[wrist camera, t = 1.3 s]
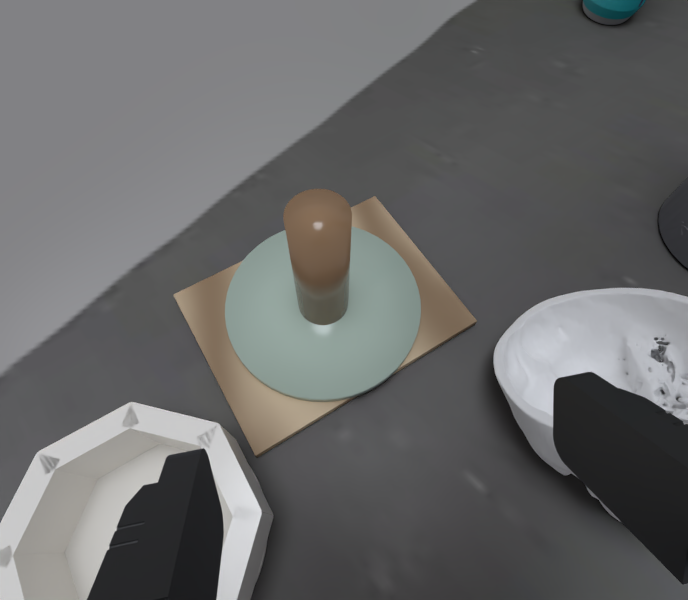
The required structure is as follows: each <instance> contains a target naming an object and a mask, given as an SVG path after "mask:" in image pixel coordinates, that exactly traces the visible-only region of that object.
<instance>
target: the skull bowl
mask: <svg viewBox="0 0 688 600" xmlns="http://www.w3.org/2000/svg"><path fill="white" fill-rule="evenodd" d="M667 344H668V345H667ZM658 348H660V349H661V350H662V352H660V351H659V350H658ZM660 358H661V359H660ZM659 360H660V361H661V360H664V363H663V362H662V363H659ZM662 364H663V366H662ZM493 365H494V371H495V375H496V378H497V380H498V383H499V385H500V387H501V389H502V391H503V393H504V395H505V397H506V399H507V401H508V403H509V405H510V407H511V410H512V413H513V416H514V418H515V420H516V422H517V423H518V425H519V427H520V428H521V430H522V431H523V433H524V434H525V436H526V438H527V440H528V442H529V443H530V445H531V447H532V448H533V449H534V451H535V452H536V453H537V454H538V455H539V457H540V458H541V459H542V460H544V461H545V462H546V463H547V464H549V465H550V466H551V467H552V468H554V469H555V470H557V471H558V472H559V473H561V474H563V475H569V474H573V475H575V474H574V473H573V472H572V471H571V470H570V469H569V468H568V467H567V466H566V465H565V464H564V463H563V461H562V460H561V458H560V457H559V455H558V453H557V451H556V448H555V445H554V441H553V391H554V383H555V381H556V380H557V379H558V378H560V377H565V376H570V375H575V374H580V373H585V372H593V373H595V374H597V375H598V376H600V377H601V378H603V379H604V380H606V381H608V382H609V383H611V384H612V385H614V386H615V387H617V388H620V389H623V390H626V391H629V392H632V393H634V394H637V395H640V396H643V397H645V398H647V399H648V400H650V401H652V402H653V403H655V404H656V405H658V406H660V407H661V408H663V409H664V410H666V413H671V414H672V415H674V416H675V417H677V418H679V419H680V420H682V421H683V423H684V425H685V424H688V297H686V296H682V295H679V294H675V293H671V292H666V291H661V290H653V289H644V288H607V289H595V290H588V291H579V292H574V293H569V294H565V295H560V296H557V297H554V298H551V299H547V300H545V301H543V302H541V303H539V304H537V305H535V306H534V307H532V308H530V309H529V310H527V311H526V312H525V313H524V314H522V315H521V316H520V317H519V318H518V319H517V320H516V321H515V322H514V323H513V324H512V325H511V326H510V327H509V328H508V329H507V330H506V332H505V333H504V334H503V336H502V337H501V338H500V339H499V342H498V343H497V345H496V348H495V350H494V356H493ZM575 476H576V475H575ZM576 477H577V476H576ZM577 478H578V477H577ZM586 488H587V490H588V492H589V493H590V495H591V496H593V497H594V498H596V499H598V497H597V496H596V495H595V494H594V493H593V492H592V491H591V490H590V489H589V488H588V487H587V486H586ZM598 500H599V499H598ZM599 501H600V500H599ZM600 503H601V505H602V506H603V507H604V508H605V510H606V511H607V512H608V513H609V514H610V515H611V516H613V517H614V518H616V519H617V520H618V521H620V520H619V519H618V518H617V517H616V516H615V515H614V514H613V513H612V512H611V511H610V510H609V509H608V508H607V507H606V506H605V505H604V504H603V503H602V502H601V501H600ZM620 522H621V521H620Z"/></svg>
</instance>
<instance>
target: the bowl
mask: <svg viewBox="0 0 688 600" xmlns="http://www.w3.org/2000/svg"><path fill="white" fill-rule="evenodd" d="M202 448H204V449H205V450H206V452H207V454H208V457H209V461H210V465H211V469H212V473H213V477H214V481H215V484H216V488H217V492H218V496H219V500H220V504H221V508H222V514H223V525H224V537H223V547H222V555H221V564H220V573H219V581H218V590H217V598H216V600H251V597H252V593H253V589H254V586H255V584H256V582H257V580H258V577H259V574H260V572H261V569H262V566H263V562H264V558H265V553H266V548H267V539H268V535H269V532H270V528H271V524H272V521H273V517H274V516H273V513H272V511H271V509H270V507H269V505H268V503H267V500H266V498H265V496H264V494H263V491H262V488H261V486H260V484H259V481H258V479H257V477H256V475H255V474H254V472H253V470H252V469H251V467H250V466H249V464H248V462H247V460H246V458H245V456H244V454H243V452H242V450H241V448H240V446H239V444H238V442H237V440H236V439H235V438H234V437H233V436H232V435H230V434H229V433H228V432H227V431H226V430H225V429H224V428H223V427H222V426H221V425H220V424H219V423H215V422H211V421H207V420H203V419H199V418H195V417H191V416H187V415H183V414H179V413H175V412H171V411H167V410H163V409H159V408H155V407H151V406H147V405H143V404H139V403H135V402H130V403H128V404H126V405H124V406H122V407H120V408H118V409H117V410H115V411H113V412H111V413H109V414H107V415H105V416H104V417H102V418H100V419H98V420H96V421H94V422H92V423H91V424H89V425H87V426H85V427H83V428H81V429H79V430H77V431H76V432H74V433H72V434H70V435H68V436H66V437H64V438H63V439H61V440H59V441H57V442H55V443H53V444H51V445H50V446H48V447H46V448H44V449H42V450H40V451H38V453H36V455H35V457H34V459H33V461H32V463H31V465H30V467H29V469H28V471H27V473H26V475H25V477H24V478H23V480H22V482H21V484H20V486H19V488H18V490H17V492H16V494H15V496H14V498H13V500H12V502H11V504H10V506H9V507H8V509H7V511H6V513H5V515H4V517H3V519H2V521H1V523H0V600H87V598H88V596H89V593H90V591H91V588H92V586H93V583H94V581H95V578H96V576H97V574H98V571H99V569H100V566H101V564H102V561H103V559H104V557H105V554H106V552H107V550H109V544H110V542H111V539H112V537H113V535H114V532H115V531H117V525H118V522H119V520H120V518H121V515H122V513H123V510H124V508H125V505H126V504H127V503H128V502H129V501H130V500H131V499H132V498H133V496H134V495H135V494H136V493H137V492H138V491H139V490H140V489H141V487H142V486H143V485H148V484H152V483H157V482H158V480H159V477H160V474H161V471H162V469H163V466H164V463H165V460H166V457H167V456H168V455H172V454H177V453H182V452H187V451H192V450H197V449H202Z"/></svg>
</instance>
